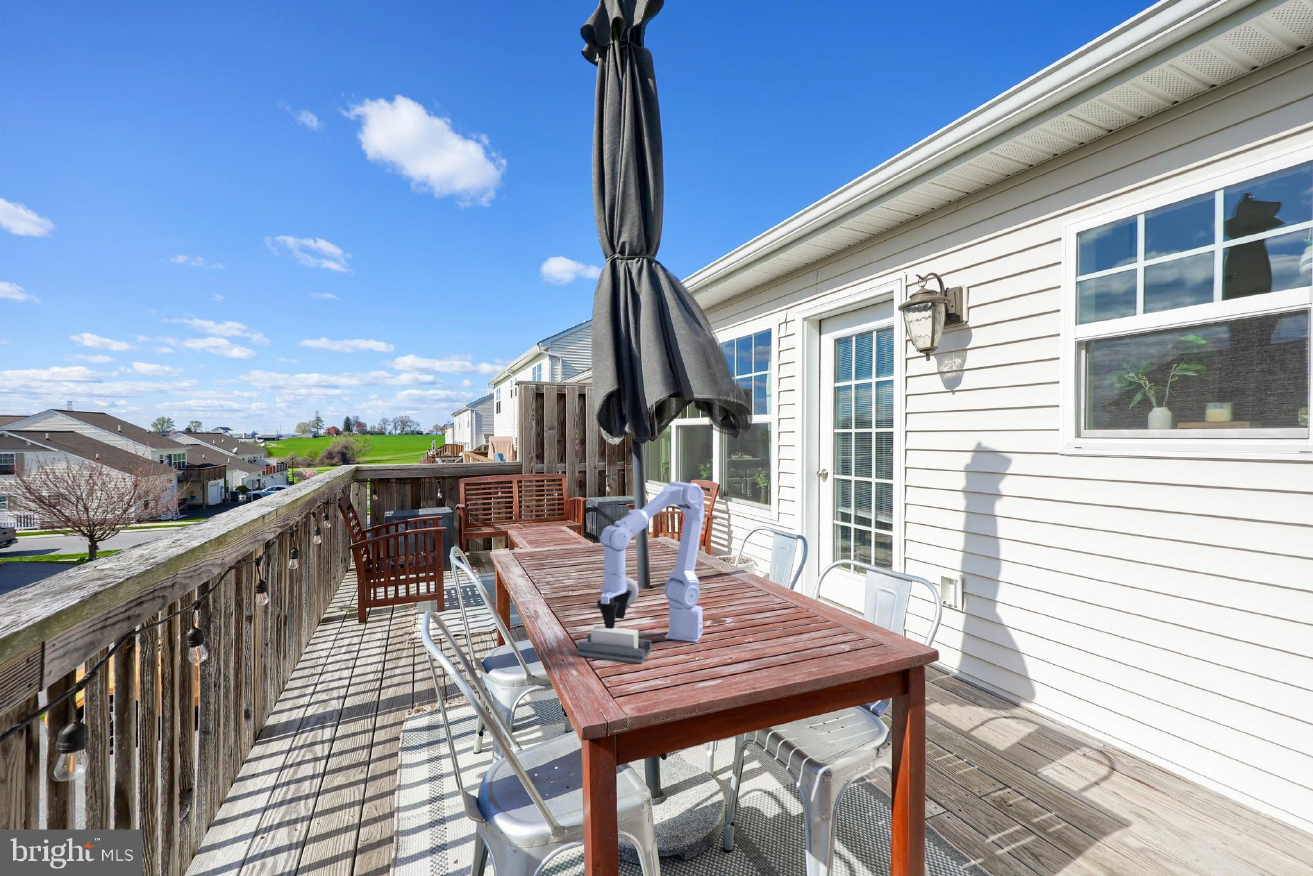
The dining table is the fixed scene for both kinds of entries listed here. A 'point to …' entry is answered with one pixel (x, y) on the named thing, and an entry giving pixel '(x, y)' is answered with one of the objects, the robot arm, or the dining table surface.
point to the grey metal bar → (615, 636)
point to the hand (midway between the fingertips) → (615, 623)
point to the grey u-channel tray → (615, 651)
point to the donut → (634, 588)
